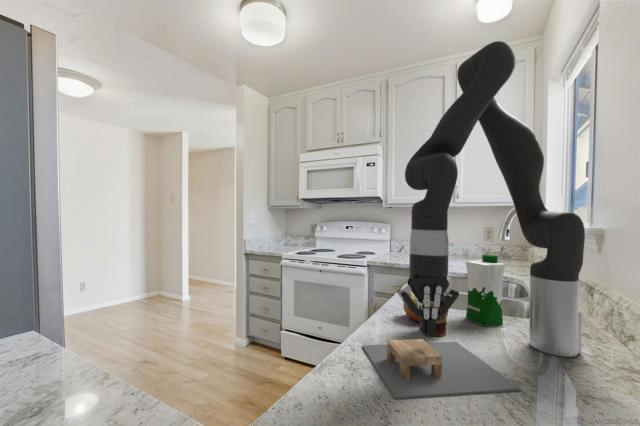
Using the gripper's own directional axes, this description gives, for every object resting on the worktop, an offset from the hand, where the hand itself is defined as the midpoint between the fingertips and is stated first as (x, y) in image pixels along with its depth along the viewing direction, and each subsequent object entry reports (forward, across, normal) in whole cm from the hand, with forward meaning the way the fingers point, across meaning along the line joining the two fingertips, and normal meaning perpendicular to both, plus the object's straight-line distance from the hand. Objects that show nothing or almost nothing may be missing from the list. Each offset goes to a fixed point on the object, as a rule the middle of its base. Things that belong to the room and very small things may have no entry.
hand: (427, 335), depth 61 cm
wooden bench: (+4, -1, 0) cm, 5 cm away
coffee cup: (+7, -12, -18) cm, 22 cm away
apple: (+7, -12, -28) cm, 31 cm away
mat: (+7, -2, -1) cm, 7 cm away
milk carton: (+7, -32, -25) cm, 41 cm away
